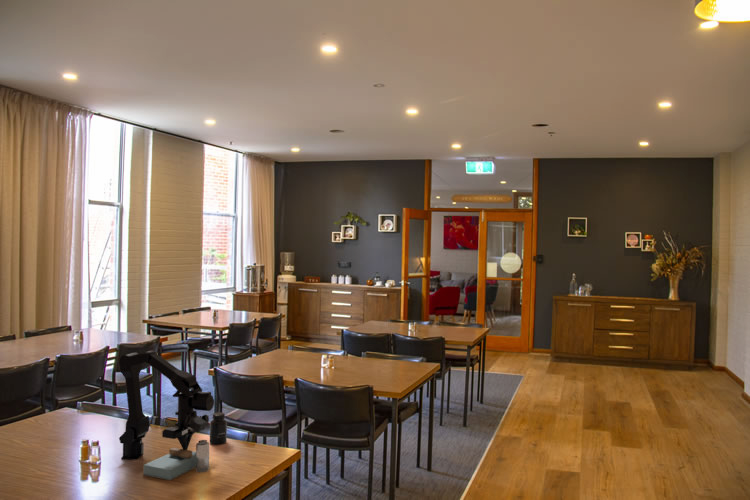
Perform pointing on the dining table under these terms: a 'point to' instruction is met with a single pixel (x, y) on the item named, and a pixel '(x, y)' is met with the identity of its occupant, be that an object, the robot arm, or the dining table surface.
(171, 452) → the lock bar
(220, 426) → the supplement bottle
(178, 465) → the socket
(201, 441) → the grey cylindrical piece
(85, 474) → the dining table surface
